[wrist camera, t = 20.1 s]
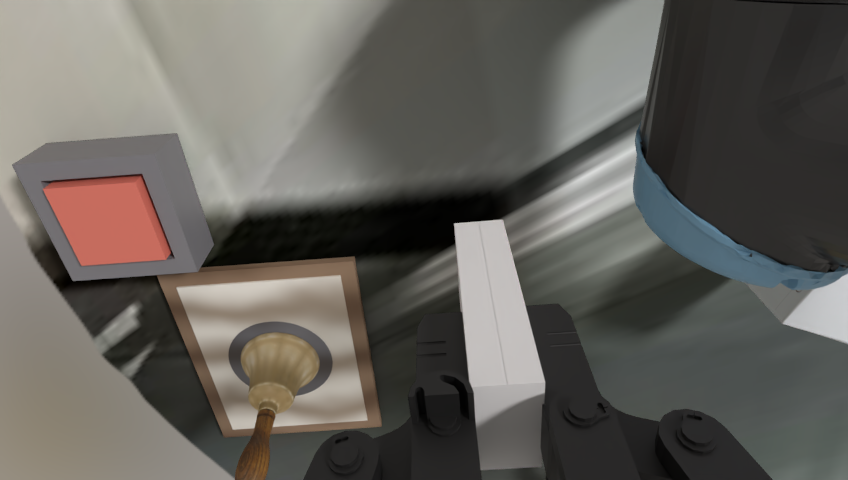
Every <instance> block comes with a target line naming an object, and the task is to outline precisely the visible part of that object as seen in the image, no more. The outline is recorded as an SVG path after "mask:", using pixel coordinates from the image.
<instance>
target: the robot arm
mask: <svg viewBox="0 0 848 480" xmlns="http://www.w3.org/2000/svg"><path fill="white" fill-rule="evenodd" d="M635 145H636V152H637V159H636V166H635V174H634V182H633V193H634V199H635V203H636V206H637V207H638V209H639V210H640V212H641V213H642V215H643V218H644V219H645V222H646V224H647V225H648V226H649V228H650V229H651V230H652V231H653V232H654V233H655V234H656V235H657V236H658V237H659V238H660V239H661V240H662V241H663V242H665V243H666V244H667V245H668V246H670V247H671V248H672V249H674V250H675V251H676V252H678V253H679V254H681V255H682V256H684V257H686V258H687V259H689V260H691V261H693V262H694V263H696V264H698V265H700V266H702V267H704V268H706V269H708V270H711V271H713V272H715V273H718V274H720V275H723V276H725V277H728V278H731V279H734V280H737V281H740V282H744V283H748V284H752V285H756V286H761V287H767V288H774V287H776V286H777V285H778V284H779V283H781V284H783V285H784V286H786V287H788V288H789V289H791V290H809V289H816V288H820V287H824V286H827V285H829V284H832V283H833V282H835V281H837V280H839V279H840V278H841V277H842V276H844V275H846V274H848V0H665V1H664V6H663V12H662V17H661V23H660V28H659V34H658V39H657V45H656V50H655V56H654V61H653V66H652V71H651V76H650V81H649V86H648V91H647V96H646V101H645V106H644V111H643V116H642V121H641V122H640V125H639V128H638V130H637V133H636V138H635ZM454 228H455V242H456V257H457V271H458V285H459V298H460V308H461V312H451V313H437V314H425V315H424V317H423V319H422V320H421V322H420V324H419V325H418V327H417V358H416V381H415V383H414V384H413V385H412V386H411V388H410V391H409V395H408V400H409V407H410V413H411V417H410V418H409V419H408V420H407V422H406V423H405V424H403V425H402V426H401V427H399V428H398V429H396V430H394V431H392V432H390V433H388V434H385V435H382V436H379V437H377V438H374V439H372V438H371V437H370V436H369V435H368V434H365V433H362V432H360V431H344V432H341V433H338V434H336V435H333V436H332V437H330V438H329V439H328V440H326V441H325V442H324V443H323V444H322V445H321V446H320V448H319V449H318V451H317V452H316V454H315V456H314V458H313V460H312V462H311V464H310V466H309V469H308V471H307V473H306V475H305V477H304V479H303V480H482V478H481V470H494V469H512V468H530V467H542V457H543V462H544V467H545V471H546V480H772V478H771V477H770V476H769V475H768V474H767V473H766V472H765V471H764V470H763V469H762V467H761V466H760V465H759V464H758V463H757V462H756V461H755V460H754V459H753V457H752V456H751V455H750V454H749V453H748V452H747V451H746V450H745V449H744V447H743V446H742V445H741V444H740V443H739V442H738V441H737V440H736V439H735V438H734V436H733V435H732V434H731V433H730V432H729V431H728V430H727V429H726V428H725V427H724V426H723V425H722V424H721V423H719V422H718V421H717V420H716V419H715V418H713V417H710V416H708V415H706V414H704V413H702V412H699V411H694V410H689V409H682V410H673V411H671V412H669V413H667V414H666V415H664V416H663V418H662V419H661V421H660V422H658V421H653V420H648V419H644V418H639V417H635V416H631V415H628V414H625V413H623V412H621V411H619V410H617V409H615V408H614V407H612V406H611V405H610V403H609V402H608V401H607V400H606V399H604V398H603V397H602V396H601V394H600V392H599V391H598V389H597V386H596V383H595V380H594V378H593V375H592V372H591V370H590V367H589V364H588V361H587V359H586V356H585V353H584V350H583V348H582V346H581V342H580V340H579V337H578V334H577V333H576V329H575V326H574V323H573V321H572V318H571V316H570V315H569V314H568V313H567V312H566V311H565V310H564V309H563V308H562V307H561V306H560V305H559V304H547V305H533V306H525V302H524V299H523V295H522V291H521V287H520V283H519V279H518V276H517V272H516V268H515V264H514V260H513V256H512V253H511V249H510V245H509V241H508V237H507V233H506V229H505V226H504V222H503V220H491V221H479V222H466V223H454Z"/></svg>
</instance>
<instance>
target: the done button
mask: <svg viewBox="0 0 848 480" xmlns="http://www.w3.org/2000/svg"><path fill="white" fill-rule="evenodd" d="M43 191H44V193H45V195H46V197H47V199H48V201H49V203H50V205H51V207H52V209H53V211H54V213H55V215H56V216H57V218H58V220H59V222H60V224H61V226H62V228H63V230H64V232H65V234H66V236H67V238H68V240H69V242H70V244H71V246H72V248H73V250H74V252H75V254H76V256H77V258H78V260H79V262H80V264H81V266H87V265H100V264H114V263H128V262H142V261H155V260H166V259H167V258H168V256H169V255H170V253H171V252H172V250H171V247H170V244H169V242H168V239H167V237H166V234H165V231H164V229H163V226H162V224H161V221H160V218H159V216H158V213H157V211H156V208H155V206H154V203H153V200H152V198H151V195H150V193H149V190H148V187H147V185H146V182H145V180H144V177H143V174H131V175H118V176H104V177H91V178H77V179H64V180H54V181H53V182H52V183H50V184H49V185H48V186H46V187H45V188H44V189H43Z"/></svg>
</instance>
